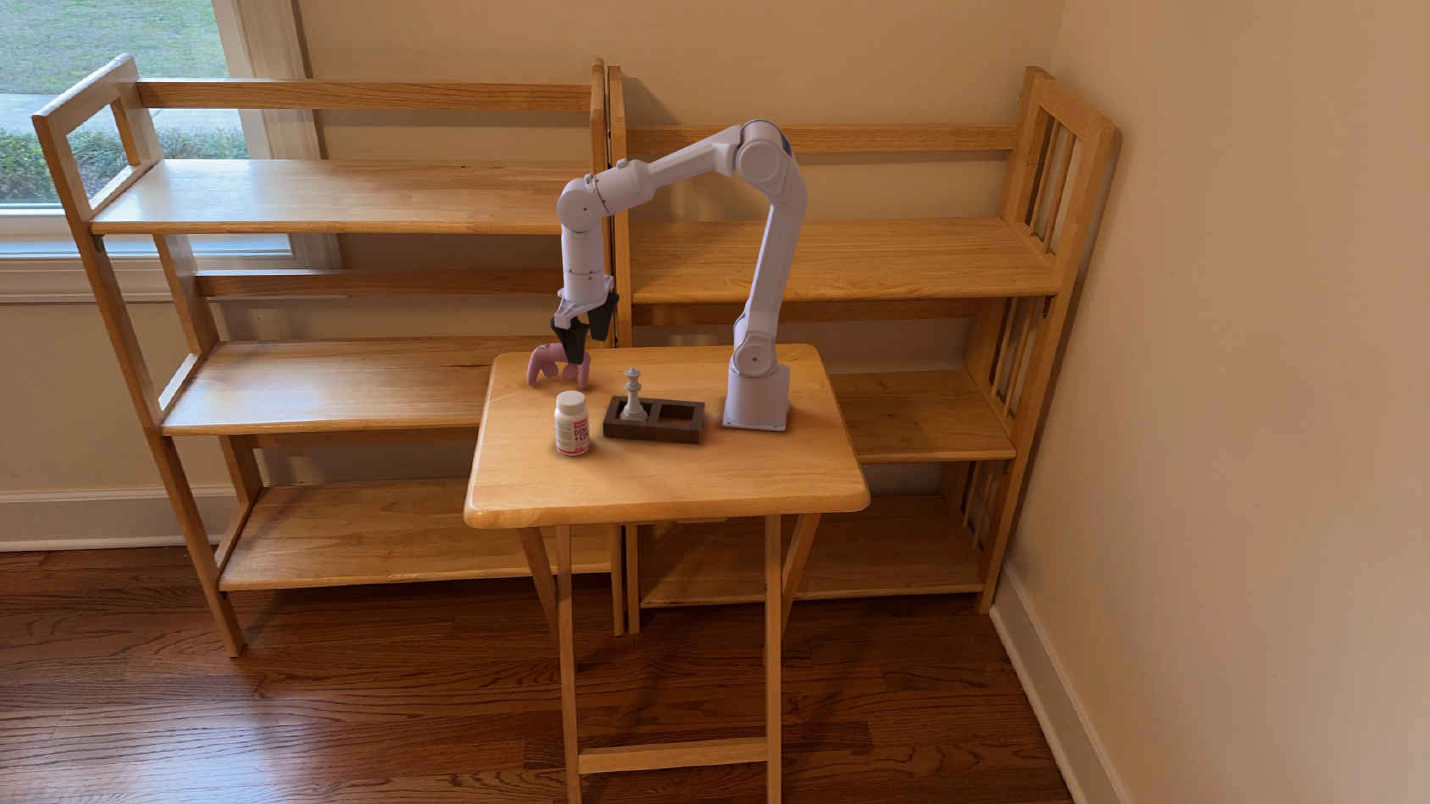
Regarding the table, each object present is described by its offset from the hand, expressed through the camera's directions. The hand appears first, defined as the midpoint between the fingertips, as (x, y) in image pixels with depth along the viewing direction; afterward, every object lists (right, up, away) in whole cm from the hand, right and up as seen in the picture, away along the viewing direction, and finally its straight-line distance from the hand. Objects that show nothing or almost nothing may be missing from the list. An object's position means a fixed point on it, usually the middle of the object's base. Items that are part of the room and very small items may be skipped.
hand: (587, 350), depth 141 cm
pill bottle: (-2, -14, -3) cm, 15 cm away
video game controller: (-6, -4, +12) cm, 14 cm away
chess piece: (+7, -11, +2) cm, 13 cm away
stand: (+10, -11, +2) cm, 15 cm away
